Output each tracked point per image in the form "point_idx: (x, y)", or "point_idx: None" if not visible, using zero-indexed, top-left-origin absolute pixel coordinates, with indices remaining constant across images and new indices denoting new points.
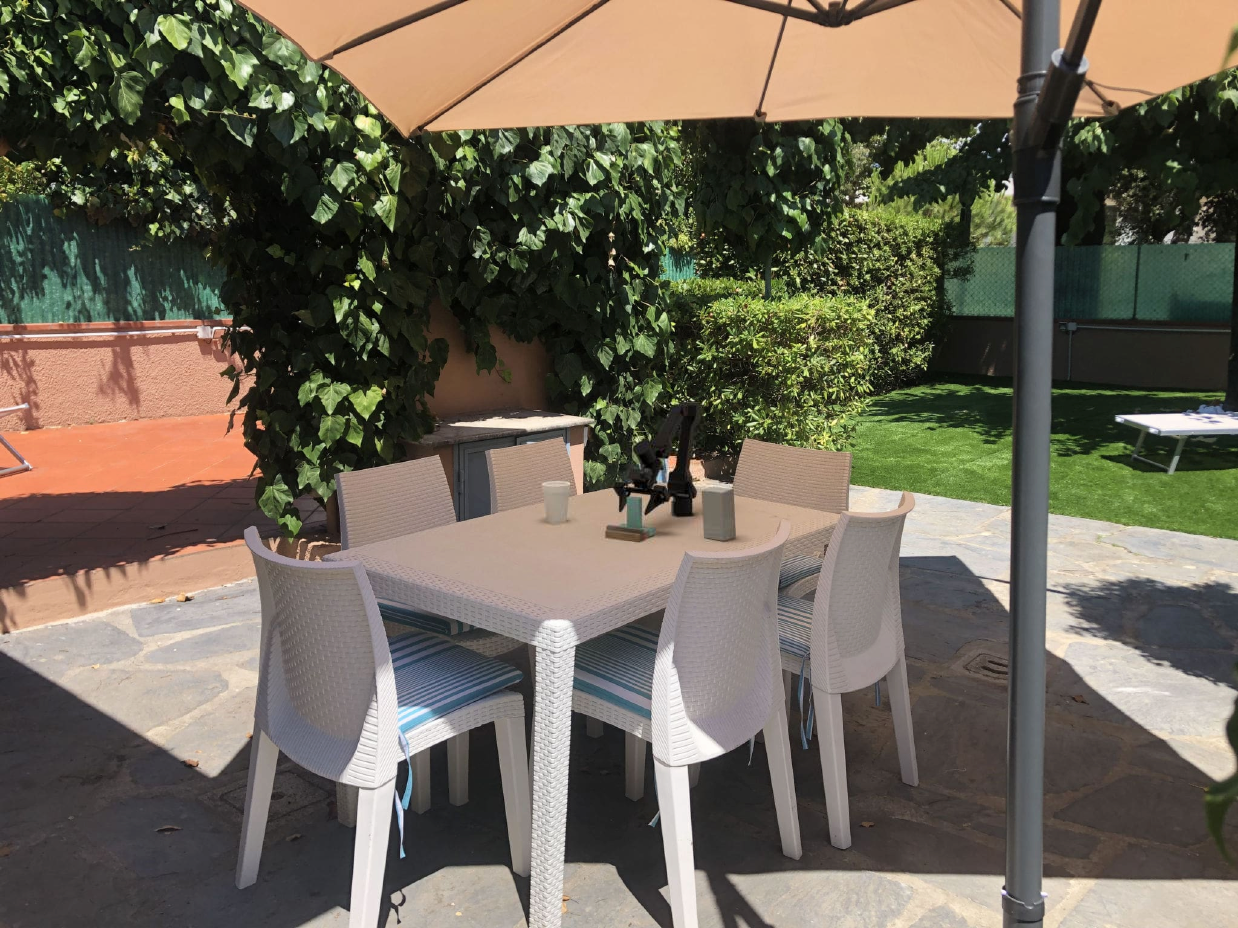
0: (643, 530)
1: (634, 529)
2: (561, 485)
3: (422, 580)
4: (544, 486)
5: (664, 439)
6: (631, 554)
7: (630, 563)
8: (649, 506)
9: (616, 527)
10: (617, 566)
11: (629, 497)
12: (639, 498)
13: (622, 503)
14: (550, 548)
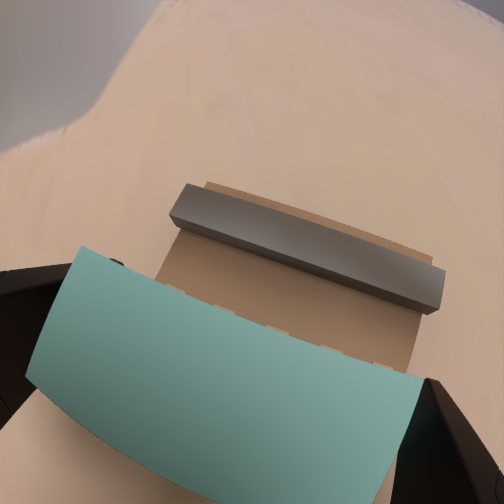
0: (174, 211)
1: (232, 198)
2: None
3: (491, 19)
4: None
5: None
6: (231, 64)
7: (227, 23)
8: (32, 269)
9: (371, 244)
10: (255, 11)
11: (348, 402)
12: (67, 277)
13: (439, 469)
14: (493, 114)
